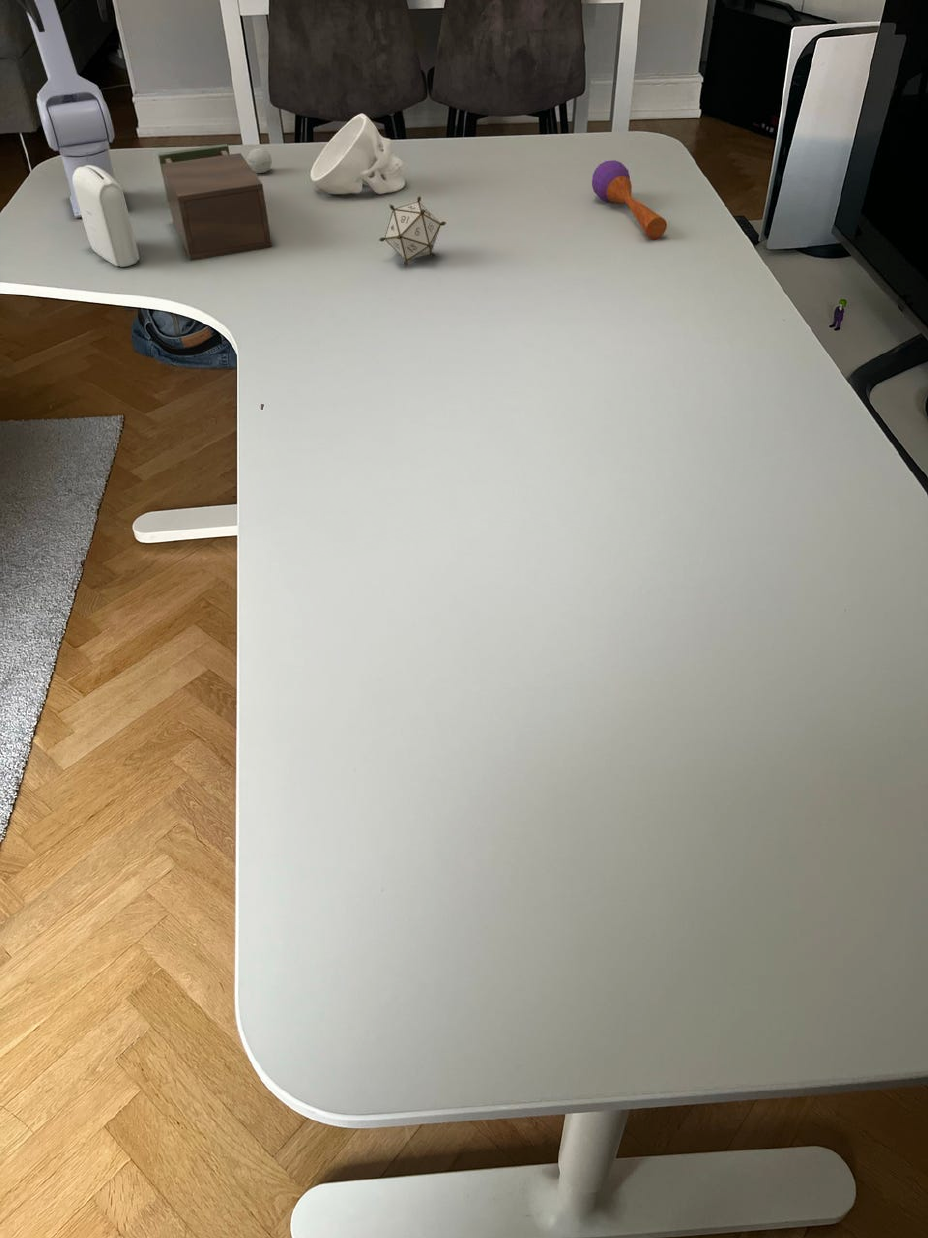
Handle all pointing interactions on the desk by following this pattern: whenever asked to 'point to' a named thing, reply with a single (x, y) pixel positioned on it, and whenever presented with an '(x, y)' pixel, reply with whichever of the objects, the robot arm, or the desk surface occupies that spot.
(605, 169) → the purple and orange maraca
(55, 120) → the robot arm
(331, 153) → the skull bowl
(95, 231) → the photo printer
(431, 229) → the game die
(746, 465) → the desk surface
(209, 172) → the cabinet
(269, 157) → the golf ball
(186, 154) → the drawer
